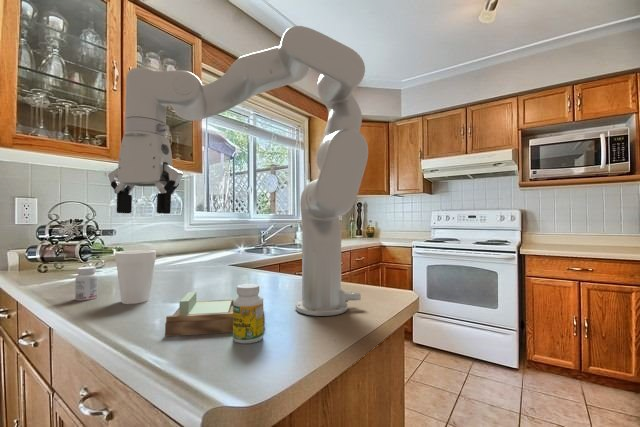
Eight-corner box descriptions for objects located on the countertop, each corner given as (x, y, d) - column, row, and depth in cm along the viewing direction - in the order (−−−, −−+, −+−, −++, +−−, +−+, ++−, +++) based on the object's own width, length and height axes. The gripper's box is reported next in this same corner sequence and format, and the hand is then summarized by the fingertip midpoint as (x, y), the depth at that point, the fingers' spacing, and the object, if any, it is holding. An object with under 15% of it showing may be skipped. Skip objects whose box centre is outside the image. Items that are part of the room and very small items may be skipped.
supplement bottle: (268, 335, 58) (268, 284, 58) (252, 346, 53) (252, 289, 53) (244, 331, 60) (244, 281, 60) (226, 341, 55) (226, 287, 55)
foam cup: (108, 301, 82) (109, 252, 82) (144, 294, 89) (145, 249, 89) (125, 307, 76) (125, 254, 76) (162, 299, 84) (162, 251, 84)
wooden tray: (262, 312, 73) (263, 297, 73) (264, 329, 61) (264, 312, 61) (180, 316, 69) (180, 301, 69) (165, 336, 57) (165, 317, 57)
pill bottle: (95, 295, 88) (95, 265, 88) (98, 298, 85) (99, 267, 85) (73, 298, 85) (74, 267, 85) (76, 301, 81) (77, 269, 82)
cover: (231, 304, 70) (231, 289, 70) (228, 316, 61) (228, 299, 61) (188, 306, 68) (189, 291, 68) (178, 319, 59) (179, 302, 59)
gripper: (193, 134, 67) (191, 214, 66) (126, 138, 71) (124, 213, 70) (169, 123, 59) (166, 213, 59) (95, 128, 63) (93, 212, 63)
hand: (143, 213), depth 65 cm, fingers open, 9 cm apart
